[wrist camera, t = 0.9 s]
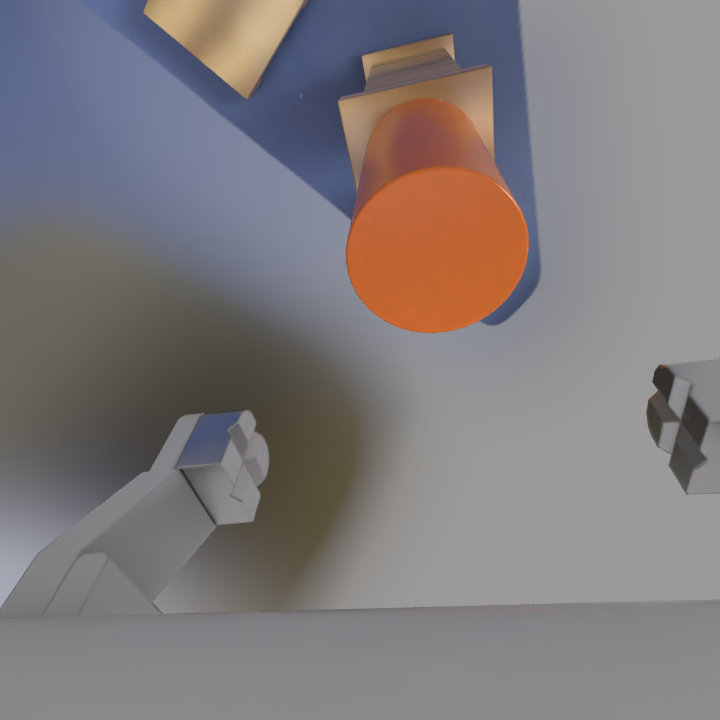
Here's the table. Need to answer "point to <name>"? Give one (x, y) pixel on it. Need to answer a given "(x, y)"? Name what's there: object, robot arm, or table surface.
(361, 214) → the orange cylinder
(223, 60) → the low stand
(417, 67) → the tall stand
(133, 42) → the table surface
